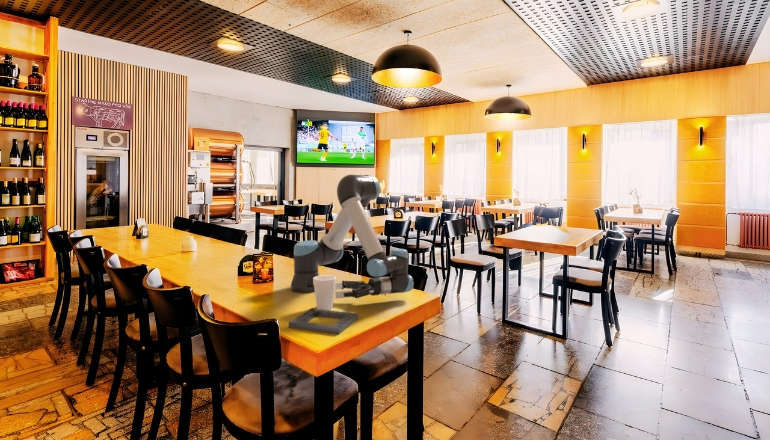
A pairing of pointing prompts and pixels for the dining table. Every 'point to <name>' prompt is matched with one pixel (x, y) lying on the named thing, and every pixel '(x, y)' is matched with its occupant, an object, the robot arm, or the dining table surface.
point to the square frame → (337, 328)
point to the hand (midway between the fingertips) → (331, 290)
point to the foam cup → (324, 291)
